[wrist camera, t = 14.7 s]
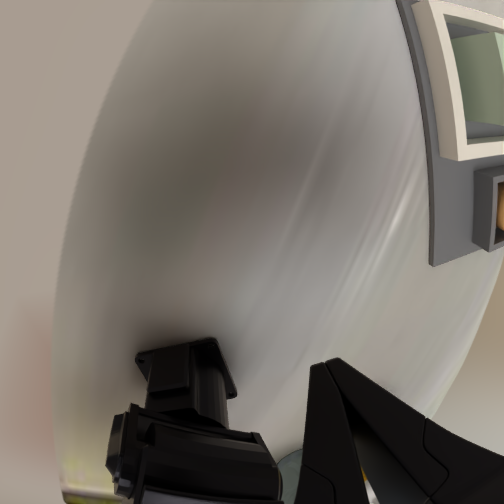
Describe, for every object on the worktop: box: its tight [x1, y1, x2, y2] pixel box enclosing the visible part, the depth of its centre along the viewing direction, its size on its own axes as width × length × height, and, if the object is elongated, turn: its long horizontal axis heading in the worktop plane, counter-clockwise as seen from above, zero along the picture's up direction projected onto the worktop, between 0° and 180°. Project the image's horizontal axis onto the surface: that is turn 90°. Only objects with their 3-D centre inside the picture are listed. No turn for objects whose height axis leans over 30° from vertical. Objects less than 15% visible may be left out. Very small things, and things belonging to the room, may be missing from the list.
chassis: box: [396, 0, 504, 267], centre depth 17 cm, size 20×12×3 cm, turn 13°
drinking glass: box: [277, 449, 303, 504], centre depth 26 cm, size 10×10×12 cm
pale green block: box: [450, 32, 504, 126], centre depth 13 cm, size 6×4×6 cm
